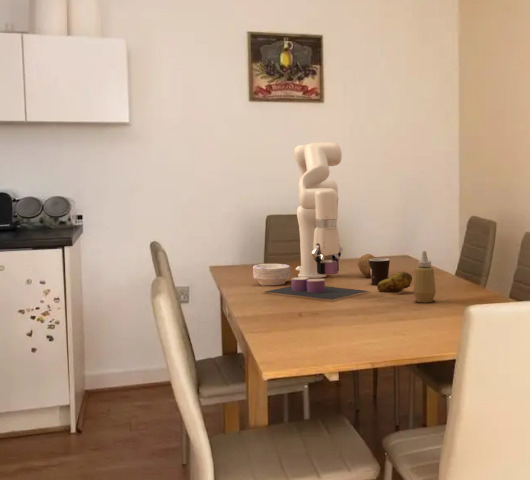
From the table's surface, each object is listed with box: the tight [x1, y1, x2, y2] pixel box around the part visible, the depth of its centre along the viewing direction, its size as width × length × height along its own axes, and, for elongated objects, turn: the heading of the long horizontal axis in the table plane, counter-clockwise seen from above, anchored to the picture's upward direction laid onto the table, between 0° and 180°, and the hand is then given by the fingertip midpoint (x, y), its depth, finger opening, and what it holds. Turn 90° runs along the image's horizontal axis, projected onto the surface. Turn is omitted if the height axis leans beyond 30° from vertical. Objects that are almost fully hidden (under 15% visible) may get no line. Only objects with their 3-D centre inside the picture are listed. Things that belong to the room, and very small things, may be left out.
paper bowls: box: [252, 263, 291, 286], centre depth 319 cm, size 15×15×8 cm
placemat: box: [264, 285, 368, 301], centre depth 299 cm, size 34×22×1 cm, turn 55°
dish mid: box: [306, 278, 326, 293], centre depth 298 cm, size 7×7×4 cm
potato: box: [377, 271, 413, 293], centre depth 296 cm, size 8×13×8 cm, turn 72°
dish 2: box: [322, 259, 339, 276], centre depth 285 cm, size 7×7×4 cm
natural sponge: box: [357, 253, 377, 278], centre depth 336 cm, size 9×9×10 cm
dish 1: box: [290, 276, 311, 291], centre depth 302 cm, size 7×7×4 cm
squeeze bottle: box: [413, 250, 437, 304], centre depth 275 cm, size 8×8×18 cm
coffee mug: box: [369, 257, 391, 286], centre depth 318 cm, size 12×9×10 cm
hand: (328, 272), depth 286 cm, fingers closed on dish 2, 7 cm apart
